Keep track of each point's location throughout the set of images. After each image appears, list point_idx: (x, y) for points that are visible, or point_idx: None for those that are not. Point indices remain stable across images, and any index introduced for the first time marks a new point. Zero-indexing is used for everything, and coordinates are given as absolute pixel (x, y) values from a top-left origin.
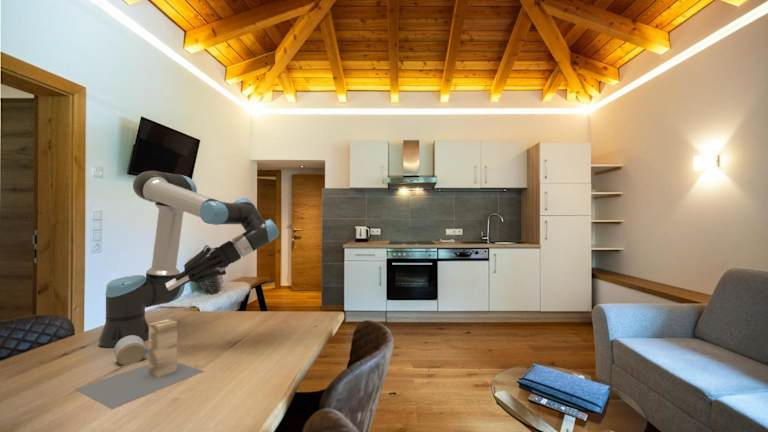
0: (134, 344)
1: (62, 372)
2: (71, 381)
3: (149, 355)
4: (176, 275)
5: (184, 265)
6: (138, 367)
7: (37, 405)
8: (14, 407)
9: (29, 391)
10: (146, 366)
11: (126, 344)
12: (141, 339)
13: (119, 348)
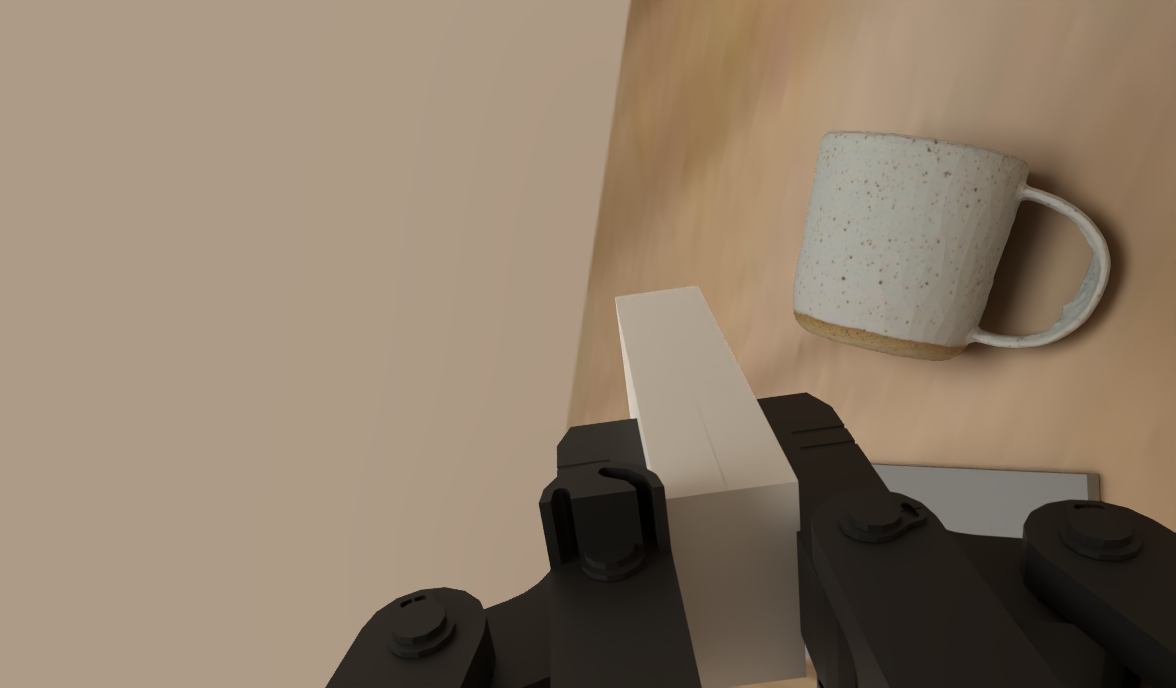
0: (840, 336)
1: (726, 120)
2: (711, 294)
3: None
4: (557, 466)
5: (383, 640)
6: (897, 466)
7: None
8: (582, 392)
9: (626, 270)
10: (930, 502)
11: (804, 302)
12: (944, 197)
13: (795, 278)
